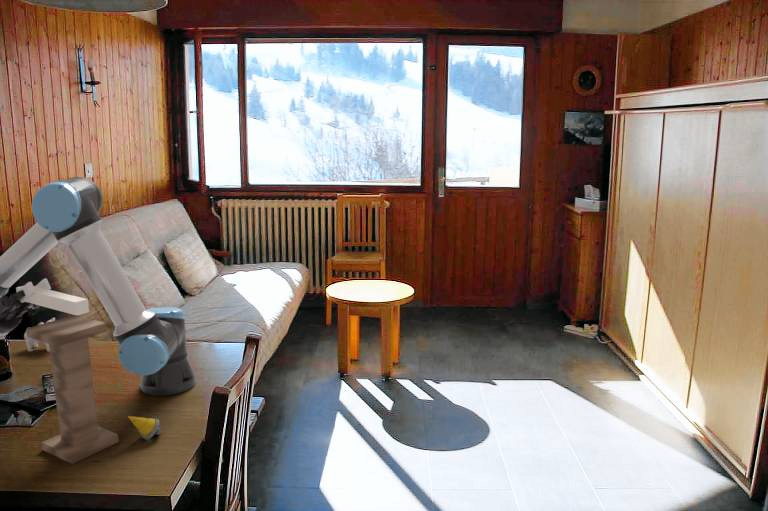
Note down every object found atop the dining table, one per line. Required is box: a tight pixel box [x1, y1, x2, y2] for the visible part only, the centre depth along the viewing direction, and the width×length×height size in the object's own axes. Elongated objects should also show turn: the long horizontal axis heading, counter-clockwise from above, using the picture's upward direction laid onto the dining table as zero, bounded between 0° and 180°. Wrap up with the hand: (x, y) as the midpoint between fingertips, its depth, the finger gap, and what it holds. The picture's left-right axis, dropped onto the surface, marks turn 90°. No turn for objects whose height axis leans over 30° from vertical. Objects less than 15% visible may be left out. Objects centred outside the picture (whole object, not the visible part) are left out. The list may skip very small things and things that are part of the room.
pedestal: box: [25, 314, 120, 465], centre depth 155 cm, size 12×12×30 cm
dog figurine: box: [23, 317, 56, 353], centre depth 222 cm, size 5×13×11 cm, turn 88°
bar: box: [15, 285, 90, 316], centre depth 153 cm, size 24×3×3 cm, turn 57°
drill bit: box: [127, 415, 162, 441], centre depth 161 cm, size 5×5×10 cm
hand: (39, 285), depth 154 cm, fingers closed on bar, 3 cm apart
